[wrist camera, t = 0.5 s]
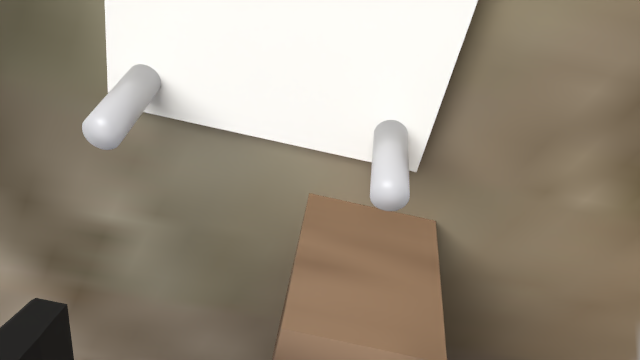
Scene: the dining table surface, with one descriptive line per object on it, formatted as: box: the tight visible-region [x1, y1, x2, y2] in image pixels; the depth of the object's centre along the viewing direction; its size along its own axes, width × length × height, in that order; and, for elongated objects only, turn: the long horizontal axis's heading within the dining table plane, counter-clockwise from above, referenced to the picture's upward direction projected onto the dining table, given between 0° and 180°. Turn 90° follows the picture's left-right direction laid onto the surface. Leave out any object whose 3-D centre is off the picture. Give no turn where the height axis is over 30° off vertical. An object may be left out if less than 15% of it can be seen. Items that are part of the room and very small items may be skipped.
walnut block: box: [272, 193, 447, 360], centre depth 20 cm, size 7×4×6 cm, turn 169°
